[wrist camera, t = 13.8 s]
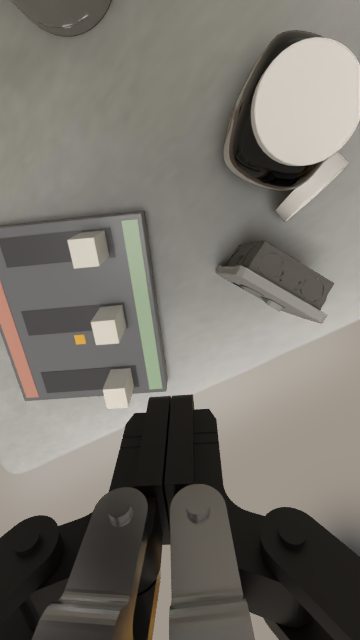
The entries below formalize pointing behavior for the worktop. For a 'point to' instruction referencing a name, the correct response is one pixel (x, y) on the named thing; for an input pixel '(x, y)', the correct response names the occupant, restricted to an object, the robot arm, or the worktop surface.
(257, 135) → the spread jar
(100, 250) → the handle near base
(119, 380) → the handle outer
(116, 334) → the handle
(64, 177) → the worktop surface
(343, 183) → the worktop surface
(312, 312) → the electrical switch
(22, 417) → the worktop surface
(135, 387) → the breaker panel
